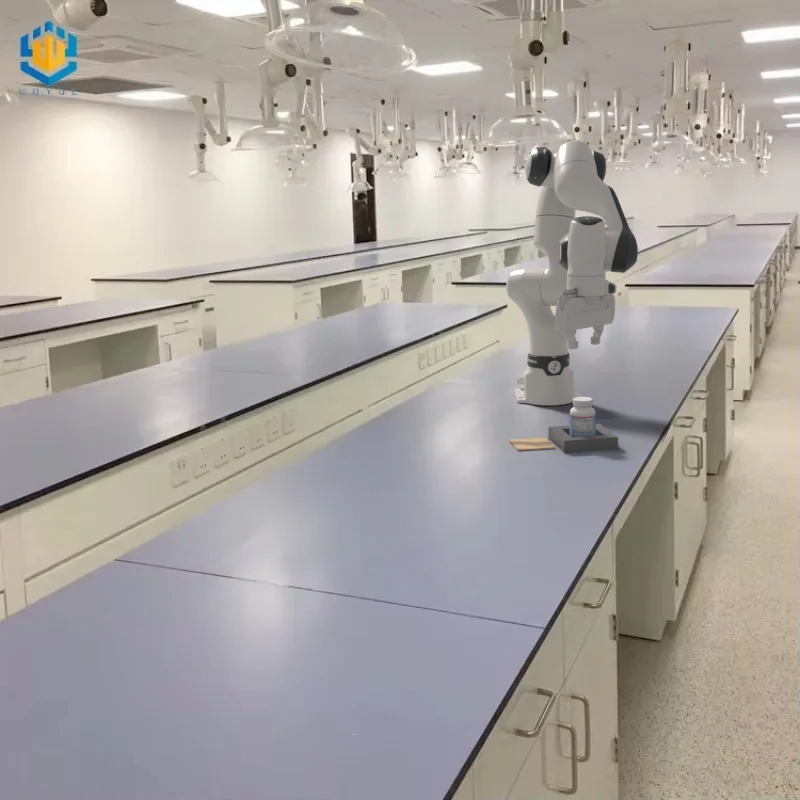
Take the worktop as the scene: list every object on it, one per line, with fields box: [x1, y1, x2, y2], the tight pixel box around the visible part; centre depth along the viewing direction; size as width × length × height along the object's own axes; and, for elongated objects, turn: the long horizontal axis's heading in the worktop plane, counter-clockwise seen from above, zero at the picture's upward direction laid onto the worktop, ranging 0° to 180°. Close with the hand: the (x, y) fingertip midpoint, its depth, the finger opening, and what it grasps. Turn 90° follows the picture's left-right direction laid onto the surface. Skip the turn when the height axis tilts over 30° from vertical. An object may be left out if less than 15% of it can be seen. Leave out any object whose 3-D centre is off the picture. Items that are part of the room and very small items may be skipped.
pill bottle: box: [569, 396, 597, 437], centre depth 206 cm, size 6×6×11 cm
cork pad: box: [508, 436, 556, 452], centre depth 208 cm, size 9×9×1 cm
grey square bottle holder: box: [547, 423, 619, 454], centre depth 207 cm, size 13×13×3 cm
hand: (584, 346), depth 203 cm, fingers open, 8 cm apart
